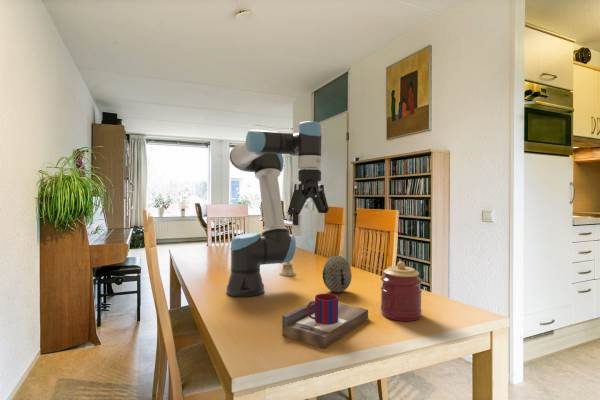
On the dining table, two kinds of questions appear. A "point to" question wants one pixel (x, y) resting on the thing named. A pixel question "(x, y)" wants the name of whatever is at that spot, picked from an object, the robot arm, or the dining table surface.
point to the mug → (325, 308)
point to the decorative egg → (337, 274)
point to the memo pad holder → (321, 325)
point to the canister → (401, 293)
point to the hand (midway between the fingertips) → (309, 233)
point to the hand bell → (287, 270)
